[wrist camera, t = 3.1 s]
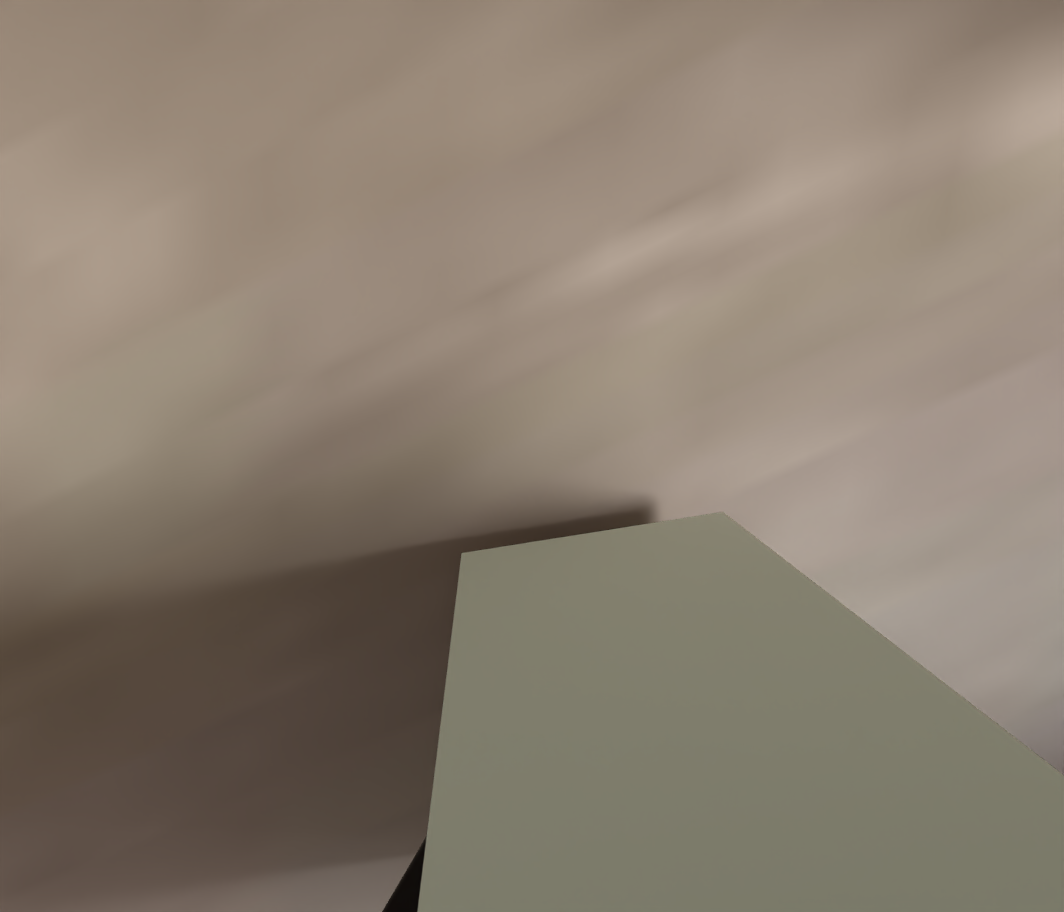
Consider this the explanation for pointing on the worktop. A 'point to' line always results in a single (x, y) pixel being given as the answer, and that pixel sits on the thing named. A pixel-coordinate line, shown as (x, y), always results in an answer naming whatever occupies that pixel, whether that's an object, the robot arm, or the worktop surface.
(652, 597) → the block
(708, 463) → the worktop surface
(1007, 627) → the worktop surface
